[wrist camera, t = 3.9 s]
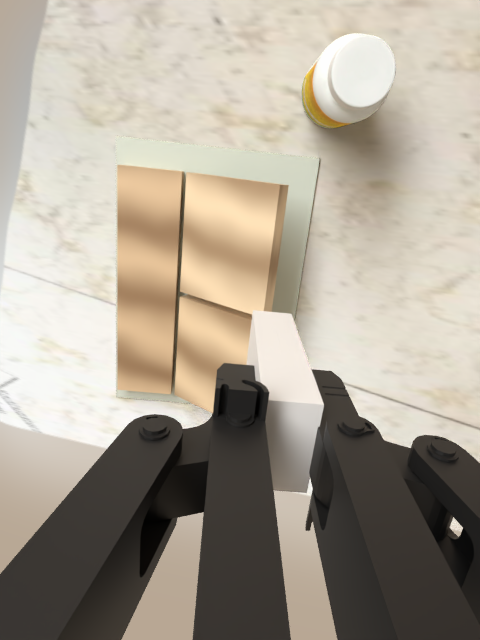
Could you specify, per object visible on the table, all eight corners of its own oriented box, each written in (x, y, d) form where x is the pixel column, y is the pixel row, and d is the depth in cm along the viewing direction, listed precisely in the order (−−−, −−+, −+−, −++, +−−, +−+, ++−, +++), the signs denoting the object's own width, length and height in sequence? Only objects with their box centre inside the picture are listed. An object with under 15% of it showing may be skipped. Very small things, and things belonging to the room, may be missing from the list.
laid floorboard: (121, 164, 37) (117, 164, 35) (184, 171, 37) (182, 171, 36) (121, 382, 44) (117, 389, 43) (172, 387, 44) (170, 394, 43)
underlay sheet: (116, 136, 36) (115, 135, 36) (319, 158, 37) (319, 158, 37) (116, 396, 45) (116, 397, 45) (280, 410, 46) (280, 411, 46)
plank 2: (189, 293, 41) (179, 296, 39) (270, 319, 36) (262, 323, 35) (183, 389, 44) (174, 394, 43) (256, 423, 40) (248, 430, 39)
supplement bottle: (328, 40, 34) (361, -3, 25) (378, 85, 35) (427, 59, 26) (286, 102, 35) (303, 82, 26) (335, 143, 36) (367, 137, 27)
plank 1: (196, 172, 37) (186, 172, 36) (288, 185, 32) (279, 184, 31) (189, 288, 40) (179, 291, 39) (271, 314, 36) (262, 318, 35)
